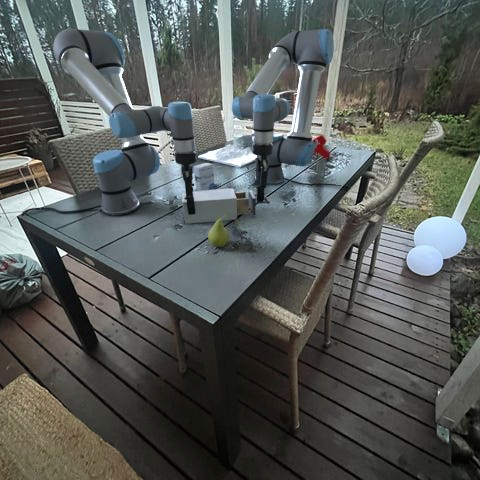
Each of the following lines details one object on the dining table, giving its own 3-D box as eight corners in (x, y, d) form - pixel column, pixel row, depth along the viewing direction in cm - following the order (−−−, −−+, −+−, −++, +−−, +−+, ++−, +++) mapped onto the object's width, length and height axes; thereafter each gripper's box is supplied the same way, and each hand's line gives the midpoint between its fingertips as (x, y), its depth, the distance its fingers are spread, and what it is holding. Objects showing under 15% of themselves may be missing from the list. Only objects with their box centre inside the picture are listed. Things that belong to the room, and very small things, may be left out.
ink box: (208, 184, 140) (207, 162, 133) (214, 187, 137) (213, 164, 130) (195, 189, 134) (192, 165, 128) (201, 192, 132) (199, 168, 125)
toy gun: (334, 153, 174) (322, 133, 171) (333, 155, 171) (321, 134, 167) (309, 168, 184) (297, 149, 181) (308, 170, 181) (296, 151, 177)
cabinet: (233, 208, 117) (232, 188, 112) (237, 219, 108) (236, 198, 103) (185, 212, 114) (182, 191, 109) (185, 224, 105) (182, 202, 100)
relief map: (240, 167, 163) (239, 158, 160) (198, 157, 181) (197, 150, 178) (264, 157, 181) (264, 149, 178) (224, 149, 199) (223, 141, 196)
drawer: (263, 204, 118) (264, 188, 114) (269, 213, 110) (270, 197, 106) (206, 209, 114) (205, 193, 110) (207, 219, 107) (206, 202, 103)
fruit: (206, 242, 94) (203, 211, 88) (227, 237, 96) (225, 207, 90) (212, 252, 89) (209, 220, 82) (233, 247, 91) (232, 215, 85)
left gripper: (175, 144, 105) (182, 197, 117) (173, 161, 86) (181, 222, 98) (194, 143, 106) (199, 195, 118) (196, 159, 87) (202, 220, 99)
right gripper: (249, 139, 104) (248, 196, 116) (256, 147, 93) (254, 209, 106) (268, 138, 105) (265, 195, 117) (277, 146, 94) (273, 208, 107)
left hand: (191, 207), depth 108 cm, fingers closed on cabinet, 10 cm apart
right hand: (260, 201), depth 112 cm, fingers closed
